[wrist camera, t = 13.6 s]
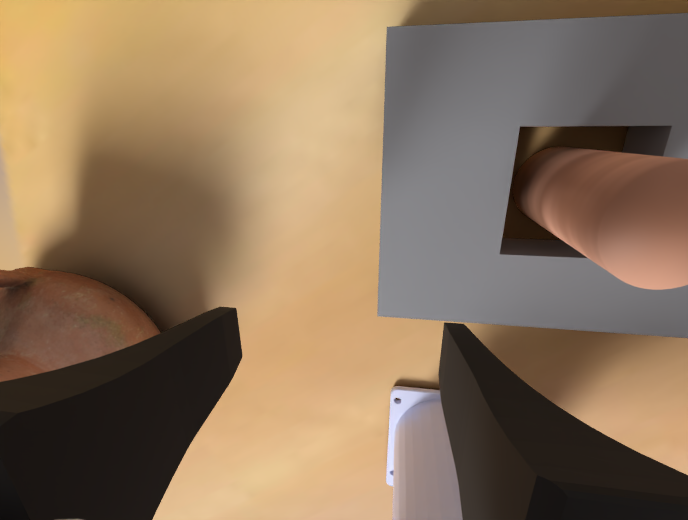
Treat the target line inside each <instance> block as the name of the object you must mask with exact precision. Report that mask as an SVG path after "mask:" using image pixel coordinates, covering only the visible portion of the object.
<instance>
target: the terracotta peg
mask: <svg viewBox="0 0 688 520" xmlns="http://www.w3.org/2000/svg"><path fill="white" fill-rule="evenodd" d="M513 197H514V201H515V203H516V205H517V207H518V208H519V210H520V211H521V212H522V213H523V214H524V215H526V216H527V217H529V218H530V219H532V220H533V221H535V222H536V223H537V224H539V225H540V226H542V227H543V228H545V229H546V230H548V231H549V232H551V233H552V234H554V235H555V236H557V237H558V238H560V239H561V240H562V241H564V242H565V243H567V244H568V245H570V246H571V247H573V248H574V249H576V250H577V251H579V252H580V253H582V254H583V255H585V256H586V257H587V258H589V259H590V260H592V261H593V262H595V263H596V264H598V265H599V266H601V267H602V268H604V269H605V270H607V271H608V272H610V273H611V274H612V275H614V276H615V277H617V278H618V279H620V280H621V281H623V282H625V283H627V284H630V285H632V286H635V287H639V288H643V289H652V290H663V289H672V288H677V287H682V286H685V285H688V159H683V158H673V157H663V156H653V155H642V154H632V153H622V152H612V151H602V150H592V149H582V148H572V147H551V148H547V149H544V150H542V151H539V152H538V153H536V154H534V155H533V156H531V157H530V158H529V159H528V160H527V161H525V163H524V164H523V165H522V166H521V168H520V169H519V170H518V172H517V174H516V177H515V179H514V183H513Z"/></svg>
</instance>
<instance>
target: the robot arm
mask: <svg viewBox="0 0 688 520" xmlns="http://www.w3.org/2000/svg"><path fill="white" fill-rule="evenodd" d="M241 359H242V349H241V341H240V333H239V326H238V318H237V310H236V308H229V307H218V308H215V309H213V310H210V311H208V312H205V313H203V314H201V315H199V316H197V317H194V318H192V319H190V320H188V321H186V322H184V323H182V324H180V325H177V326H175V327H173V328H171V329H169V330H167V331H164V332H162V333H160V334H157V335H155V336H153V337H151V338H148V339H146V340H144V341H141V342H139V343H137V344H134V345H132V346H129V347H126V348H124V349H121V350H118V351H115V352H112V353H110V354H107V355H104V356H101V357H98V358H95V359H91V360H88V361H84V362H81V363H77V364H74V365H71V366H67V367H64V368H60V369H56V370H52V371H48V372H44V373H40V374H36V375H31V376H26V377H22V378H17V379H12V380H7V381H2V382H0V520H152V519H153V517H154V515H155V512H156V510H157V508H158V506H159V504H160V502H161V500H162V498H163V496H164V494H165V492H166V490H167V488H168V486H169V484H170V481H171V479H172V477H173V476H174V474H175V472H176V470H177V468H178V466H179V464H180V462H181V460H182V458H183V456H184V454H185V453H186V451H187V449H188V447H189V445H190V444H191V442H192V440H193V439H194V437H195V435H196V434H197V432H198V431H199V429H200V428H201V426H202V425H203V423H204V422H205V420H206V419H207V417H208V416H209V414H210V413H211V411H212V410H213V408H214V407H215V405H216V404H217V402H218V401H219V399H220V397H221V396H222V394H223V393H224V391H225V390H226V388H227V387H228V385H229V383H230V382H231V380H232V378H233V376H234V374H235V372H236V370H237V368H238V365H239V363H240V361H241ZM439 385H440V390H433V389H423V388H413V387H403V386H395V387H393V388H392V389H391V398H390V417H389V436H388V455H387V474H386V482H387V484H388V485H390V486H393V520H688V475H686V474H684V473H682V472H679V471H677V470H675V469H673V468H671V467H669V466H666V465H664V464H662V463H660V462H658V461H655V460H653V459H651V458H649V457H647V456H645V455H642V454H640V453H638V452H636V451H634V450H633V449H631V448H629V447H627V446H625V445H623V444H621V443H619V442H617V441H615V440H614V439H612V438H610V437H608V436H606V435H604V434H602V433H601V432H599V431H597V430H595V429H594V428H592V427H590V426H588V425H587V424H585V423H583V422H582V421H580V420H579V419H577V418H575V417H574V416H572V415H571V414H569V413H567V412H566V411H564V410H563V409H561V408H560V407H558V406H557V405H555V404H554V403H552V402H551V401H549V400H548V399H547V398H545V397H544V396H542V395H541V394H540V393H538V392H537V391H536V390H534V389H533V388H532V387H530V386H529V385H528V384H526V383H525V382H524V381H523V380H521V379H520V378H519V377H518V376H517V375H516V374H514V373H513V372H512V371H511V370H510V369H509V368H507V367H506V366H505V365H504V364H503V363H502V362H501V361H500V360H499V359H498V358H497V357H496V356H494V355H493V354H492V353H491V352H490V351H489V350H488V349H487V348H486V347H485V346H484V345H483V344H482V343H481V341H480V340H479V339H478V338H477V337H476V336H475V335H474V334H473V333H472V332H471V331H470V330H469V329H468V328H467V327H466V326H465V325H464V324H457V323H444V330H443V339H442V348H441V357H440V366H439ZM395 398H400V400H396V399H395Z"/></svg>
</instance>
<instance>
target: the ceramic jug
mask: <svg viewBox="0 0 688 520" xmlns="http://www.w3.org/2000/svg"><path fill="white" fill-rule="evenodd" d="M160 333H161V332H160V331H159V329H158V328H157V327H156V325H155V324H154V323H153V321H152V320H151V319H150V318H149V317H148V316H147V315H146V314H145V313H144V311H143V310H142V309H140V308H139V307H138V306H137V305H136V304H135V303H134V302H132V301H131V300H130V299H129V298H127V297H126V296H125V295H123V294H121V293H120V292H118V291H117V290H115V289H113V288H111V287H110V286H108V285H106V284H104V283H101V282H99V281H97V280H94V279H91V278H88V277H85V276H82V275H78V274H73V273H66V272H62V271H54V270H53V271H50V270H44V269H39V268H34V267H25V268H19V269H15V270H12V271H6V270H0V382H2V381H7V380H12V379H17V378H22V377H26V376H31V375H36V374H40V373H44V372H48V371H52V370H56V369H60V368H64V367H67V366H71V365H74V364H77V363H81V362H84V361H88V360H91V359H95V358H98V357H101V356H104V355H107V354H110V353H112V352H115V351H118V350H121V349H124V348H126V347H129V346H132V345H134V344H137V343H139V342H141V341H144V340H146V339H148V338H151V337H153V336H155V335H157V334H160Z"/></svg>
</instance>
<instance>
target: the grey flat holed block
mask: <svg viewBox="0 0 688 520" xmlns="http://www.w3.org/2000/svg"><path fill="white" fill-rule="evenodd" d="M590 126H629V127H628V131H627V135H626V139H625V143H624V146H623V150H622V153H632V154H642V155H653V156H663V157H673V158H683V159H688V13H676V14H654V15H633V16H611V17H590V18H568V19H547V20H525V21H504V22H482V23H461V24H439V25H418V26H396V27H387V41H386V72H385V102H384V133H383V163H382V193H381V224H380V254H379V285H378V315H377V316H383V317H397V318H411V319H425V320H439V321H453V322H467V323H482V324H496V325H510V326H524V327H538V328H552V329H566V330H581V331H595V332H609V333H623V334H637V335H651V336H665V337H679V338H688V285H685V286H682V287H677V288H672V289H663V290H652V289H643V288H639V287H635V286H632V285H630V284H627V283H625V282H623V281H621V280H620V279H618V278H617V277H615V276H614V275H612V274H611V273H610V272H608V271H607V270H605V269H604V268H602V267H601V266H599V265H598V264H596V263H595V262H593V261H592V260H590V259H589V258H587V257H586V256H585V255H583V254H582V253H580V252H579V251H577V250H576V249H574V248H573V247H571V246H570V245H568V244H567V243H565V242H564V241H562V240H543V239H516V238H502V236H503V230H504V224H505V217H506V211H507V205H508V199H509V192H510V186H511V180H512V174H513V167H514V161H515V155H516V149H517V142H518V136H519V130H520V127H590Z"/></svg>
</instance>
